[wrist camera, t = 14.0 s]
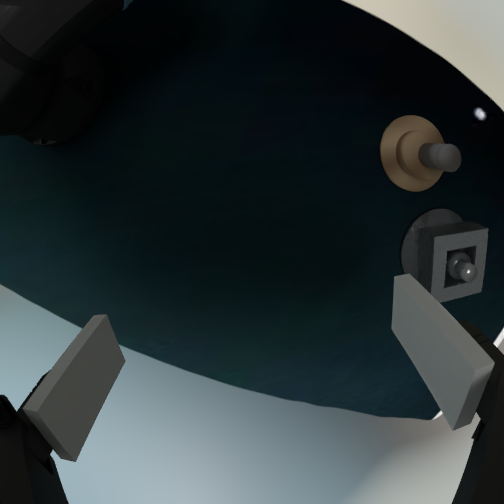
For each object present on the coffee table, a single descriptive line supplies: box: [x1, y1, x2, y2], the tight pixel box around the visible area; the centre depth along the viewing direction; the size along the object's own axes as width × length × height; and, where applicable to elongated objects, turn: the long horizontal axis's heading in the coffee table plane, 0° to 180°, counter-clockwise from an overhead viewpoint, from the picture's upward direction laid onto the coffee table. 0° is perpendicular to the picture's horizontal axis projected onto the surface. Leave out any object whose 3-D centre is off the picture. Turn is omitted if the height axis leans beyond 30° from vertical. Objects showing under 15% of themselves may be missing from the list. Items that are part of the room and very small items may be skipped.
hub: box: [400, 208, 478, 283], centre depth 36 cm, size 12×12×10 cm
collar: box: [418, 221, 488, 303], centre depth 35 cm, size 9×9×4 cm
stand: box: [380, 115, 461, 191], centre depth 32 cm, size 10×10×9 cm
